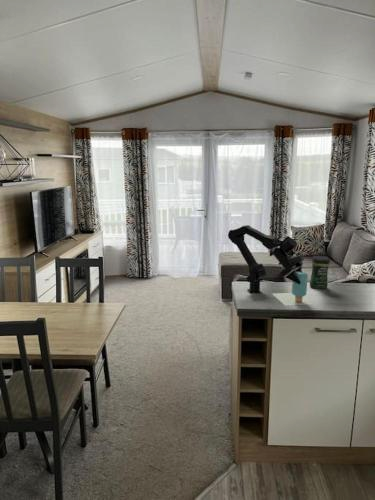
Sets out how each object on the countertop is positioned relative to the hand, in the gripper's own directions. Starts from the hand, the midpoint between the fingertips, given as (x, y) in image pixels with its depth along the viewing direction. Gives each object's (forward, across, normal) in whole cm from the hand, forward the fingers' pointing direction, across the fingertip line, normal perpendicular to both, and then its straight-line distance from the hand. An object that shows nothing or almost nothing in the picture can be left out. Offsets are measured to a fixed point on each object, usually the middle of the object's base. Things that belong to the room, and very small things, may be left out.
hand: (302, 282), depth 191 cm
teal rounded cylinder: (+4, 0, +6) cm, 7 cm away
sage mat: (+4, +2, +12) cm, 13 cm away
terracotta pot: (+7, 0, +8) cm, 11 cm away
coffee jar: (+7, +33, +9) cm, 35 cm away
